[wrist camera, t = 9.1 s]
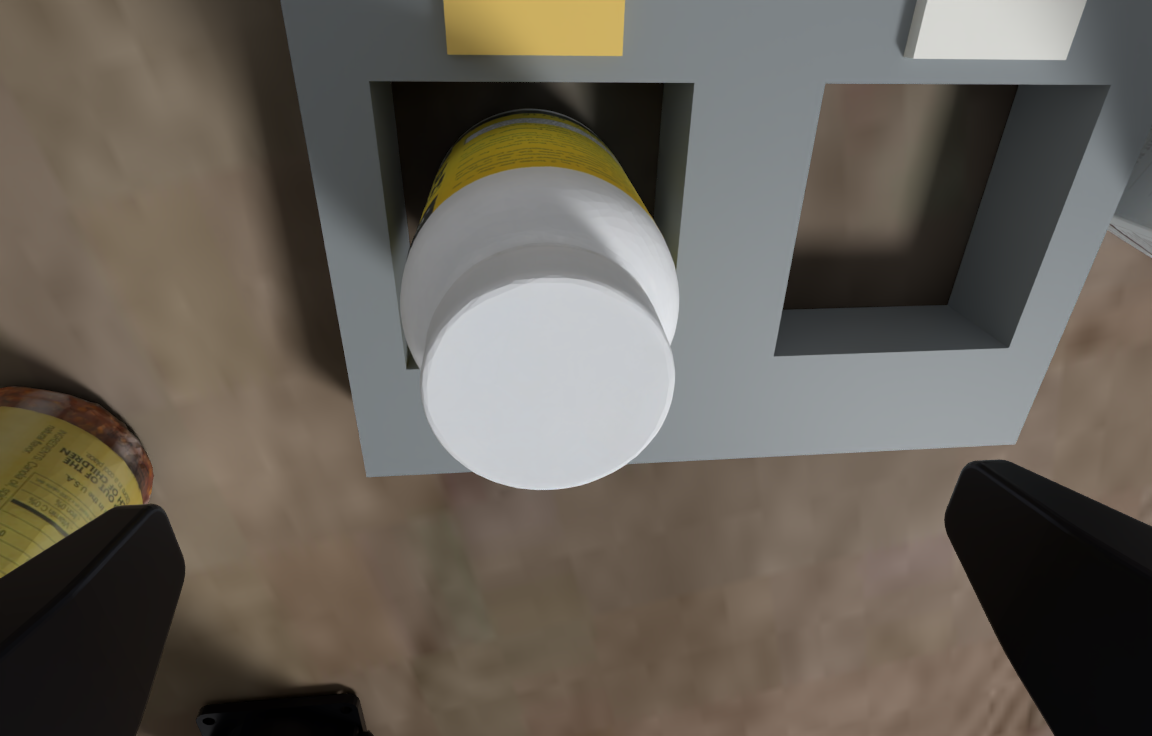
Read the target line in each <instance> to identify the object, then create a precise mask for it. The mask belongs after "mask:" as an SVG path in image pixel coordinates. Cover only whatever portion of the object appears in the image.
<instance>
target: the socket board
mask: <svg viewBox="0 0 1152 736" xmlns="http://www.w3.org/2000/svg"><path fill="white" fill-rule="evenodd" d="M280 1H281V7H282V12H283V18H284V23H285V29H286V34H287V40H288V45H289V51H290V56H291V62H292V67H293V73H294V78H295V84H296V89H297V95H298V100H299V106H300V112H301V117H302V123H303V128H304V134H305V139H306V145H307V150H308V156H309V161H310V167H311V172H312V178H313V183H314V189H315V194H316V200H317V205H318V211H319V216H320V222H321V227H322V233H323V239H324V244H325V250H326V255H327V261H328V266H329V272H330V277H331V283H332V288H333V294H334V299H335V305H336V310H337V316H338V321H339V327H340V332H341V338H342V343H343V349H344V354H345V360H346V365H347V371H348V377H349V382H350V388H351V393H352V399H353V404H354V410H355V415H356V421H357V426H358V432H359V437H360V443H361V448H362V454H363V459H364V465H365V470H366V476H367V477H380V476H399V475H419V474H439V473H458V472H473V471H471V470H469V469H468V468H466V467H465V466H464V465H462V464H461V463H460V462H459V461H457V460H456V459H455V458H454V457H453V456H452V455H451V454H450V453H449V452H448V451H447V450H446V449H445V448H444V447H443V446H442V445H441V443H440V442H439V441H438V439H437V438H436V436H435V435H434V433H433V431H432V429H431V427H430V425H429V423H428V421H427V418H426V415H425V412H424V409H423V404H422V400H421V392H420V375H421V370H420V369H419V367H418V365H417V364H416V362H415V360H414V358H413V356H412V354H411V351H410V349H409V347H408V344H407V341H406V338H405V334H404V330H403V326H402V320H401V312H400V292H401V283H402V277H403V273H404V268H405V264H406V261H407V255H408V251H409V248H410V243H409V234H408V225H407V216H406V208H405V199H404V190H403V181H402V173H401V164H400V155H399V146H398V137H397V129H396V120H395V111H394V102H393V94H392V85H391V81H443V82H639V83H664V88H663V101H662V114H661V127H660V141H659V154H658V167H657V180H656V193H655V206H654V219H653V220H654V221H655V223H656V225H657V227H658V228H659V230H660V232H661V234H662V235H663V237H664V240H665V242H666V244H667V247H668V249H669V251H670V254H671V257H672V260H673V262H674V265H675V270H676V275H677V280H678V287H679V313H678V321H677V325H676V330H675V334H674V337H673V340H672V342H671V345H670V347H671V351H672V354H673V360H674V367H675V386H674V392H673V398H672V402H671V405H670V408H669V411H668V414H667V416H666V418H665V420H664V423H663V425H662V427H661V428H660V430H659V431H658V433H657V434H656V436H655V437H654V438H653V439H652V441H651V442H650V443H649V444H648V445H647V446H646V447H645V448H644V449H643V450H642V451H641V452H640V453H639V455H638V456H637V457H635V458H634V459H632V460H631V461H630V462H628V463H627V464H636V463H656V462H675V461H695V460H715V459H734V458H754V457H774V456H794V455H813V454H833V453H853V452H872V451H892V450H912V449H932V448H951V447H971V446H991V445H1010V444H1015V443H1016V441H1017V439H1018V436H1019V434H1020V432H1021V429H1022V427H1023V425H1024V422H1025V420H1026V418H1027V415H1028V413H1029V411H1030V408H1031V406H1032V404H1033V401H1034V399H1035V397H1036V394H1037V392H1038V390H1039V387H1040V385H1041V383H1042V380H1043V378H1044V376H1045V373H1046V371H1047V369H1048V366H1049V364H1050V362H1051V359H1052V357H1053V355H1054V352H1055V350H1056V348H1057V345H1058V343H1059V341H1060V338H1061V336H1062V334H1063V331H1064V329H1065V327H1066V325H1067V322H1068V320H1069V318H1070V315H1071V313H1072V311H1073V308H1074V306H1075V304H1076V301H1077V299H1078V297H1079V294H1080V292H1081V290H1082V287H1083V285H1084V283H1085V280H1086V278H1087V276H1088V273H1089V271H1090V269H1091V266H1092V264H1093V262H1094V259H1095V257H1096V255H1097V252H1098V250H1099V248H1100V245H1101V243H1102V241H1103V238H1104V236H1105V234H1106V231H1107V229H1108V227H1109V224H1110V222H1111V220H1112V217H1113V215H1114V213H1115V210H1116V208H1117V206H1118V203H1119V201H1120V199H1121V196H1122V194H1123V192H1124V189H1125V187H1126V185H1127V182H1128V180H1129V178H1130V175H1131V173H1132V171H1133V168H1134V166H1135V164H1136V161H1137V159H1138V157H1139V154H1140V152H1141V150H1142V147H1143V145H1144V143H1145V140H1146V138H1147V136H1148V133H1149V131H1150V129H1151V126H1152V0H280ZM825 83H835V84H1019V86H1018V89H1017V92H1016V95H1015V98H1014V101H1013V105H1012V108H1011V111H1010V114H1009V117H1008V120H1007V123H1006V126H1005V129H1004V132H1003V135H1002V139H1001V142H1000V145H999V148H998V151H997V154H996V157H995V160H994V163H993V166H992V169H991V172H990V176H989V179H988V182H987V185H986V188H985V191H984V194H983V197H982V200H981V203H980V206H979V209H978V213H977V216H976V219H975V222H974V225H973V228H972V231H971V234H970V237H969V240H968V243H967V247H966V250H965V253H964V256H963V259H962V262H961V265H960V268H959V271H958V274H957V277H956V280H955V284H954V287H953V290H952V293H951V296H950V299H949V302H948V305H931V306H896V307H862V308H827V309H792V310H783V304H784V299H785V294H786V288H787V283H788V278H789V272H790V267H791V262H792V257H793V251H794V246H795V241H796V235H797V230H798V225H799V219H800V214H801V209H802V203H803V198H804V193H805V188H806V182H807V177H808V172H809V166H810V161H811V156H812V150H813V145H814V140H815V135H816V129H817V124H818V119H819V113H820V108H821V103H822V97H823V92H824V87H825Z"/></svg>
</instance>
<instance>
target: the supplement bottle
mask: <svg viewBox="0 0 1152 736" xmlns="http://www.w3.org/2000/svg"><path fill="white" fill-rule="evenodd" d="M400 312H401V320H402V326H403V330H404V334H405V338H406V341H407V344H408V347H409V349H410V351H411V354H412V356H413V358H414V360H415V362H416V364H417V365H418V367H419V369H420V370H421V375H420V392H421V400H422V404H423V409H424V412H425V415H426V418H427V421H428V423H429V425H430V427H431V429H432V431H433V433H434V435H435V436H436V438H437V439H438V441H439V442H440V443H441V445H442V446H443V447H444V448H445V449H446V450H447V451H448V452H449V453H450V454H451V455H452V456H453V457H454V458H455V459H456V460H457V461H459V462H460V463H461V464H462V465H464V466H465V467H466V468H468V469H469V470H471V471H473V472H474V473H476V474H478V475H480V476H482V477H484V478H486V479H489V480H491V481H493V482H497V483H500V484H504V485H507V486H511V487H516V488H522V489H532V490H553V489H564V488H569V487H575V486H580V485H583V484H586V483H589V482H592V481H595V480H598V479H600V478H602V477H604V476H607V475H609V474H611V473H613V472H615V471H616V470H618V469H620V468H621V467H623V466H624V465H626V464H627V463H628V462H630V461H631V460H632V459H634V458H635V457H637V456H638V455H639V453H640V452H641V451H642V450H643V449H644V448H645V447H646V446H647V445H648V444H649V443H650V442H651V441H652V439H653V438H654V437H655V436H656V434H657V433H658V431H659V430H660V428H661V427H662V425H663V423H664V420H665V418H666V416H667V414H668V411H669V408H670V405H671V402H672V398H673V392H674V386H675V367H674V360H673V354H672V351H671V347H670V345H671V342H672V340H673V337H674V334H675V330H676V325H677V321H678V313H679V287H678V280H677V275H676V270H675V265H674V262H673V260H672V257H671V254H670V251H669V249H668V247H667V244H666V242H665V240H664V237H663V235H662V234H661V232H660V230H659V228H658V227H657V225H656V223H655V221H654V220H653V218H652V217H651V215H650V213H649V212H648V210H647V209H646V207H645V205H644V204H643V202H642V200H641V199H640V197H639V195H638V194H637V192H636V190H635V188H634V187H633V185H632V184H631V182H630V181H629V179H628V177H627V175H626V174H625V172H624V171H623V169H622V167H621V165H620V164H619V162H618V161H617V159H616V158H615V156H614V155H613V153H612V152H611V151H610V149H609V148H608V147H607V146H606V144H605V143H604V142H603V141H602V140H601V139H600V138H599V137H598V136H597V135H596V134H595V133H594V132H593V131H591V130H590V129H589V128H587V127H586V126H585V125H583V124H581V123H580V122H578V121H576V120H574V119H572V118H570V117H568V116H566V115H563V114H560V113H557V112H553V111H548V110H542V109H517V110H511V111H506V112H502V113H499V114H496V115H493V116H491V117H489V118H486V119H484V120H482V121H480V122H479V123H477V124H476V125H474V126H473V127H471V128H470V129H469V130H467V131H466V132H465V133H464V134H463V135H461V136H460V138H459V139H458V140H457V141H456V142H455V143H454V144H453V146H452V147H451V148H450V150H449V151H448V152H447V154H446V156H445V157H444V159H443V161H442V163H441V165H440V167H439V169H438V171H437V174H436V176H435V178H434V181H433V185H432V188H431V190H430V193H429V196H428V199H427V202H426V205H425V208H424V211H423V214H422V217H421V220H420V223H419V225H418V228H417V231H416V233H415V236H414V238H413V241H412V243H411V246H410V248H409V251H408V255H407V261H406V264H405V268H404V273H403V277H402V283H401V292H400Z"/></svg>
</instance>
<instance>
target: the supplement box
mask: <svg viewBox="0 0 1152 736" xmlns="http://www.w3.org/2000/svg"><path fill="white" fill-rule="evenodd" d="M1107 230H1108V231H1110V232H1111V233H1113V234H1114V235H1116V236H1117V237H1119V238H1120V239H1122V240H1124V241H1125V242H1127V243H1128V244H1130V245H1132V246H1133V247H1135V248H1136V249H1138V250H1140V251H1141V252H1143V253H1144V254H1146V255H1148V256H1149V257H1151V258H1152V126H1151V129H1150V131H1149V133H1148V136H1147V138H1146V140H1145V143H1144V145H1143V147H1142V150H1141V152H1140V154H1139V157H1138V159H1137V161H1136V164H1135V166H1134V168H1133V171H1132V173H1131V175H1130V178H1129V180H1128V182H1127V185H1126V187H1125V189H1124V192H1123V194H1122V196H1121V199H1120V201H1119V203H1118V206H1117V208H1116V210H1115V213H1114V215H1113V217H1112V220H1111V222H1110V224H1109V227H1108V229H1107Z"/></svg>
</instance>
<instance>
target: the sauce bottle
mask: <svg viewBox="0 0 1152 736" xmlns="http://www.w3.org/2000/svg"><path fill="white" fill-rule="evenodd" d="M153 477H154V474H153V467H152V465H151V462H150V460H149V458H148V455H147V453H146V451H145V450H144V448H143V447H142V445H141V443H140V442H139V440H138V438H137V437H136V436H134V435H133V433H132V432H130V431H129V430H128V429H127V426H126V425H125V424H124V423H123V422H122V421H120V420H118V419H117V418H116V417H115V416H113V415H112V414H111V413H110V412H109V411H107V410H106V409H104V408H103V407H102V406H101V405H99V404H98V403H93V402H89V401H86V400H84V399H81V398H78V397H75V396H72V395H69V394H64V393H60V392H53V391H48V390H43V389H35V388H29V387H25V386H24V387H18V386H9V387H4V388H0V578H1V577H3V576H5V575H6V574H8V573H9V572H11V571H13V570H14V569H16V568H17V567H19V566H20V565H22V564H24V563H25V562H27V561H28V560H30V559H32V558H33V557H35V556H36V555H38V554H40V553H41V552H43V551H44V550H46V549H47V548H49V547H51V546H52V545H54V544H55V543H57V542H59V541H60V540H62V539H63V538H65V537H67V536H68V535H70V534H71V533H73V532H74V531H76V530H78V529H79V528H81V527H82V526H84V525H86V524H87V523H89V522H90V521H92V520H93V519H95V518H97V517H98V516H100V515H101V514H103V513H105V512H106V511H108V510H109V509H111V508H113V507H116V506H122V505H138V504H147V503H148V502H149V500H150V495H151V491H152V483H153Z"/></svg>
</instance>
